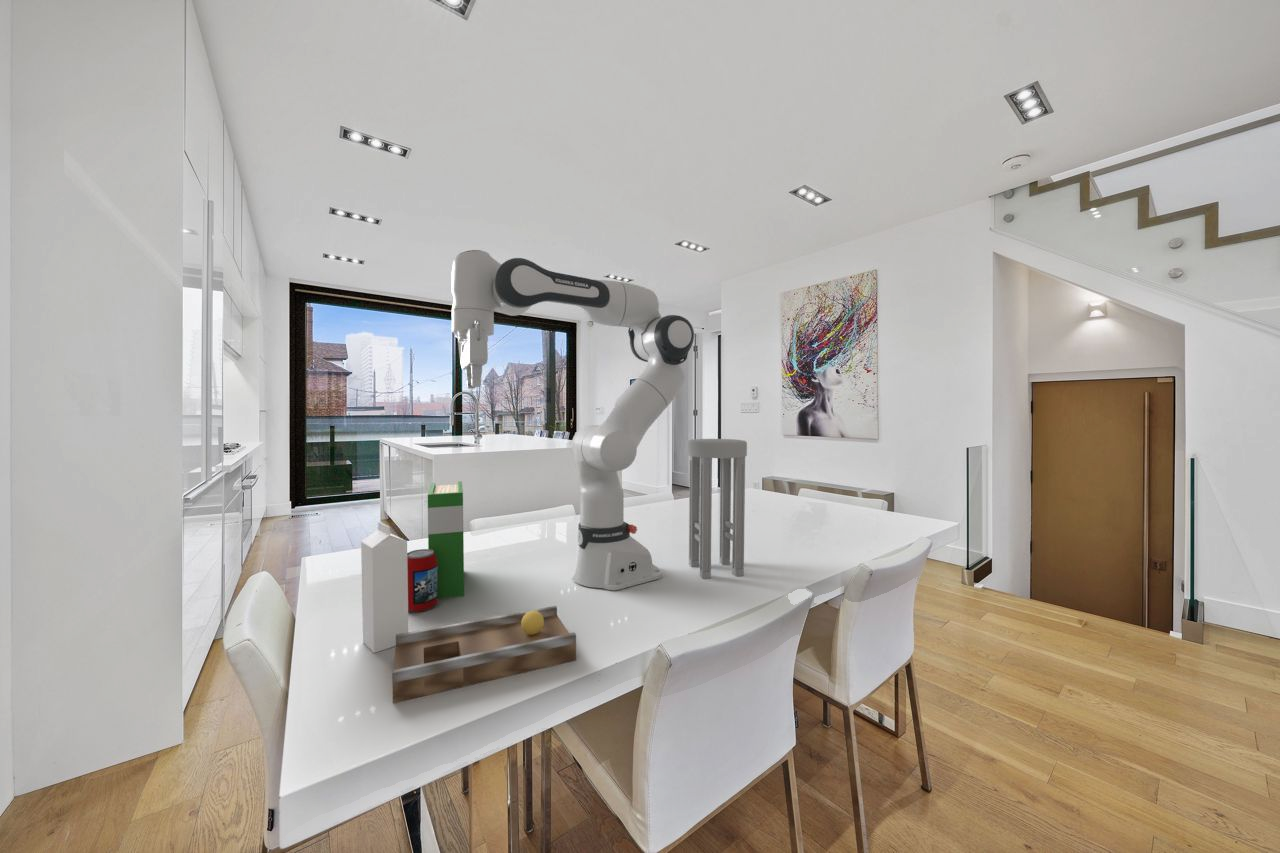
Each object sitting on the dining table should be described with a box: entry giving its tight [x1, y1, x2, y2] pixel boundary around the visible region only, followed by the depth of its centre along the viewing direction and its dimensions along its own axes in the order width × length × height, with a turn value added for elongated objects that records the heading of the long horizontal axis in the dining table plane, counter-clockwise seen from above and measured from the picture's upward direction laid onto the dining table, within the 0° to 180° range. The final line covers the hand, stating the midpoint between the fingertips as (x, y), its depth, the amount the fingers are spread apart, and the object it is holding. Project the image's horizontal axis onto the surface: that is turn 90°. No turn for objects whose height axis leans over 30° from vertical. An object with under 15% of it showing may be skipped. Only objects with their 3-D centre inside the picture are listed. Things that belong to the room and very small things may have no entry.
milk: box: [360, 521, 409, 654], centre depth 87 cm, size 6×6×22 cm
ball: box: [521, 610, 544, 635], centre depth 84 cm, size 4×4×4 cm
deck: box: [391, 605, 577, 704], centre depth 81 cm, size 28×13×4 cm, turn 115°
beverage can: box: [407, 548, 439, 613], centre depth 102 cm, size 7×7×12 cm
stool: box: [685, 438, 748, 580], centre depth 126 cm, size 16×16×35 cm
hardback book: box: [427, 481, 465, 600], centre depth 115 cm, size 18×7×24 cm, turn 21°
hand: (473, 387), depth 105 cm, fingers open, 8 cm apart
